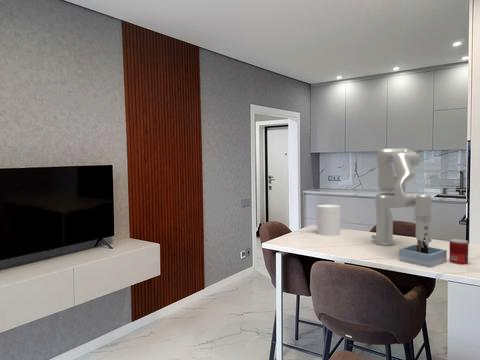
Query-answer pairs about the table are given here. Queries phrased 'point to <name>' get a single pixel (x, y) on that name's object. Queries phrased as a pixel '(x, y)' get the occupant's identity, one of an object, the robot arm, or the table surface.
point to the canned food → (458, 251)
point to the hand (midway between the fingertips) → (422, 253)
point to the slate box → (423, 256)
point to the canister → (328, 220)
